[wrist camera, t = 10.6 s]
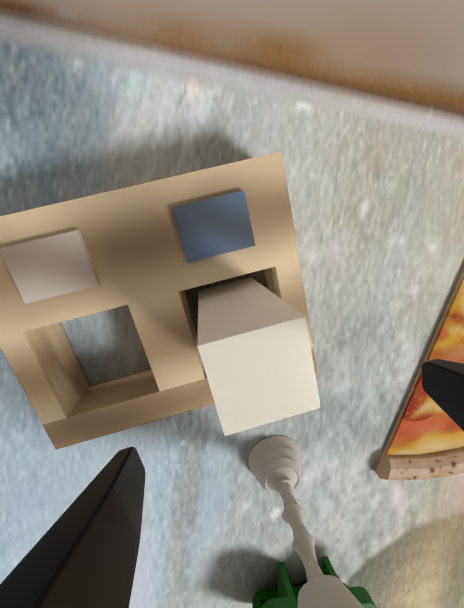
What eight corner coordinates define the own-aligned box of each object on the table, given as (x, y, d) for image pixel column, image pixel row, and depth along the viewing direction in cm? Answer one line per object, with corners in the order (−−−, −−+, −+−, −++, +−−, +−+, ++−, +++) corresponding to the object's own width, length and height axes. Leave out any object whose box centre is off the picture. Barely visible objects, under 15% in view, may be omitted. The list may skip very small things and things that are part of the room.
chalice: (317, 474, 24) (610, 1059, 7) (251, 499, 24) (385, 1172, 7) (299, 414, 22) (652, 1029, 5) (227, 441, 22) (333, 1190, 5)
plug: (261, 325, 20) (320, 407, 10) (212, 339, 19) (224, 436, 10) (250, 276, 19) (305, 316, 9) (198, 290, 18) (197, 345, 9)
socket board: (298, 351, 21) (319, 375, 17) (80, 413, 20) (53, 453, 16) (265, 169, 17) (283, 149, 13) (-7, 232, 16) (-70, 230, 12)
